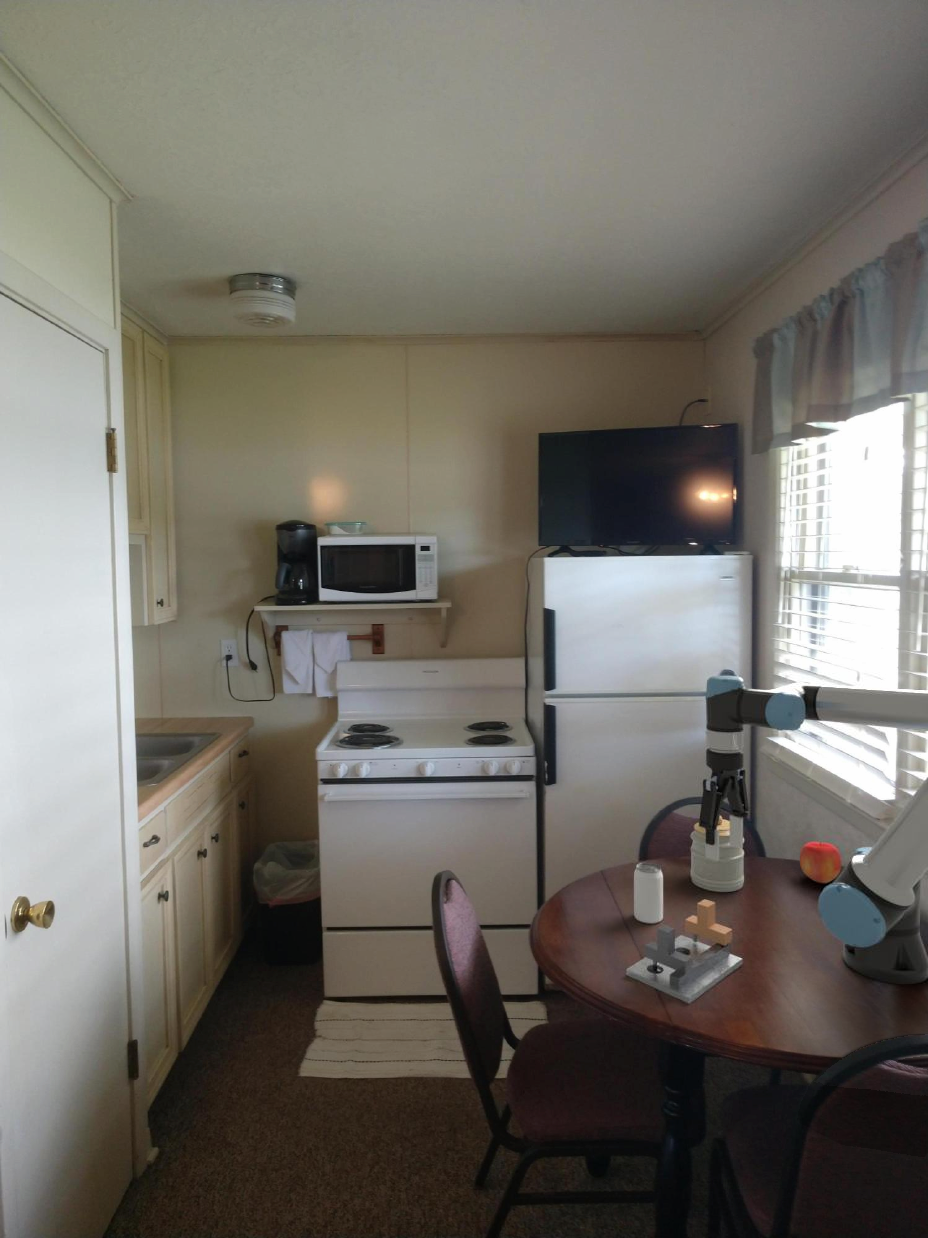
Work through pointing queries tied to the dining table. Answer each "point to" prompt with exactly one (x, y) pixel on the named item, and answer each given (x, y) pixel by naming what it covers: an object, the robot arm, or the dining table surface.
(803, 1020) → the dining table surface
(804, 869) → the apple
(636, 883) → the can
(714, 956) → the grey assembly fixture
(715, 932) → the orange t-shaped block
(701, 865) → the jar
